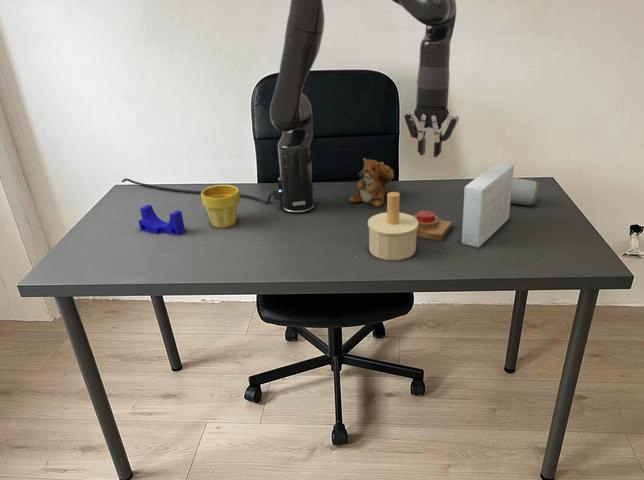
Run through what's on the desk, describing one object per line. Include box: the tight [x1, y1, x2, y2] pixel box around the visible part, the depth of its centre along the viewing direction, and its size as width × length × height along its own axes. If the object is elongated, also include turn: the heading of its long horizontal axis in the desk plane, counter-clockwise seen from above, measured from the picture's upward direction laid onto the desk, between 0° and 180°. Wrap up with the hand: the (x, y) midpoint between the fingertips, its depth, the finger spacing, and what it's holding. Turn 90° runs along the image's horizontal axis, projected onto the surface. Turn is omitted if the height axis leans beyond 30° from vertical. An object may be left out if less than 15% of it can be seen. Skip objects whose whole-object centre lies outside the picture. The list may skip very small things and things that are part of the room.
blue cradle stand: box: [138, 204, 186, 236], centre depth 151 cm, size 12×4×6 cm, turn 65°
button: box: [417, 210, 435, 223], centre depth 147 cm, size 4×4×2 cm
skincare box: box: [461, 162, 515, 248], centre depth 143 cm, size 21×6×16 cm, turn 145°
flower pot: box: [200, 184, 240, 229], centre depth 153 cm, size 10×10×10 cm
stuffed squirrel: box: [348, 157, 395, 208], centre depth 165 cm, size 10×14×13 cm
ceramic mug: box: [510, 176, 540, 206], centre depth 162 cm, size 11×8×8 cm
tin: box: [368, 227, 418, 261], centre depth 138 cm, size 12×12×7 cm
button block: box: [410, 213, 452, 242], centre depth 148 cm, size 12×9×4 cm
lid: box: [367, 191, 418, 235], centre depth 134 cm, size 13×13×9 cm
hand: (429, 154), depth 138 cm, fingers open, 3 cm apart
